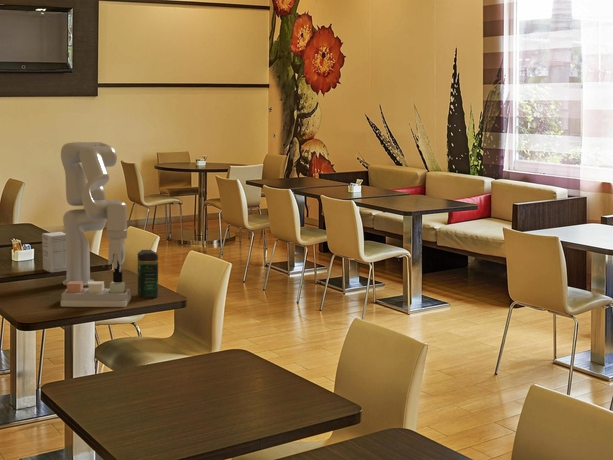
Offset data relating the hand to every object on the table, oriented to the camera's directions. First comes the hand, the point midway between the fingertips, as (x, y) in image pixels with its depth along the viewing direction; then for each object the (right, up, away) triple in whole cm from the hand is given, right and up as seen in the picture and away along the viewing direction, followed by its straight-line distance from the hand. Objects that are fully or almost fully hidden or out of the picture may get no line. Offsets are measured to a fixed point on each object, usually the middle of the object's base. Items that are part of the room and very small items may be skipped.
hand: (117, 281), depth 315 cm
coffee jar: (+9, -7, +14) cm, 18 cm away
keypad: (-8, -8, +1) cm, 12 cm away
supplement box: (-42, +1, +61) cm, 75 cm away
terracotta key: (-16, -4, 0) cm, 17 cm away
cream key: (-8, -4, 0) cm, 9 cm away
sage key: (0, -4, +1) cm, 4 cm away
